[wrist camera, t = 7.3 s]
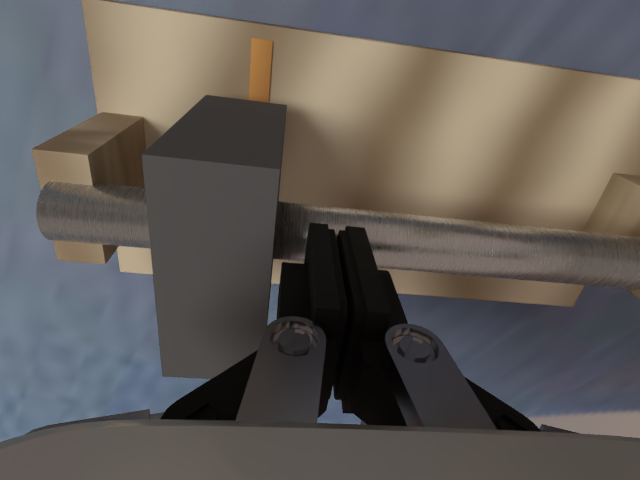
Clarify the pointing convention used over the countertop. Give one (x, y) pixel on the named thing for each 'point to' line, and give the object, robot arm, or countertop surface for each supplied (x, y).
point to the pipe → (370, 238)
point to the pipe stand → (367, 131)
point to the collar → (213, 231)
